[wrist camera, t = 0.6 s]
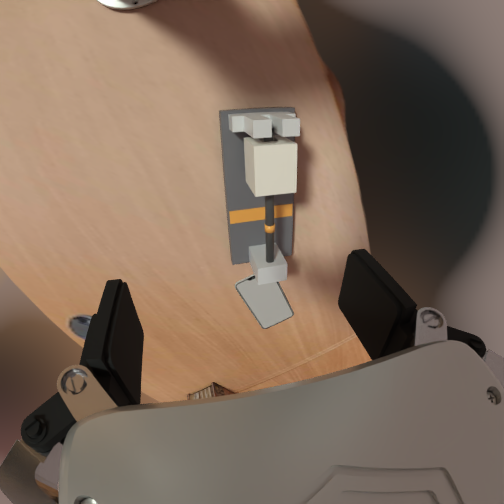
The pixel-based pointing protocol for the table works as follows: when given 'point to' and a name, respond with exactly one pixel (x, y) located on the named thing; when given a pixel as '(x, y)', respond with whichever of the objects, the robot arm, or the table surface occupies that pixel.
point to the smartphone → (264, 301)
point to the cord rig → (244, 201)
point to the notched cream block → (270, 165)
